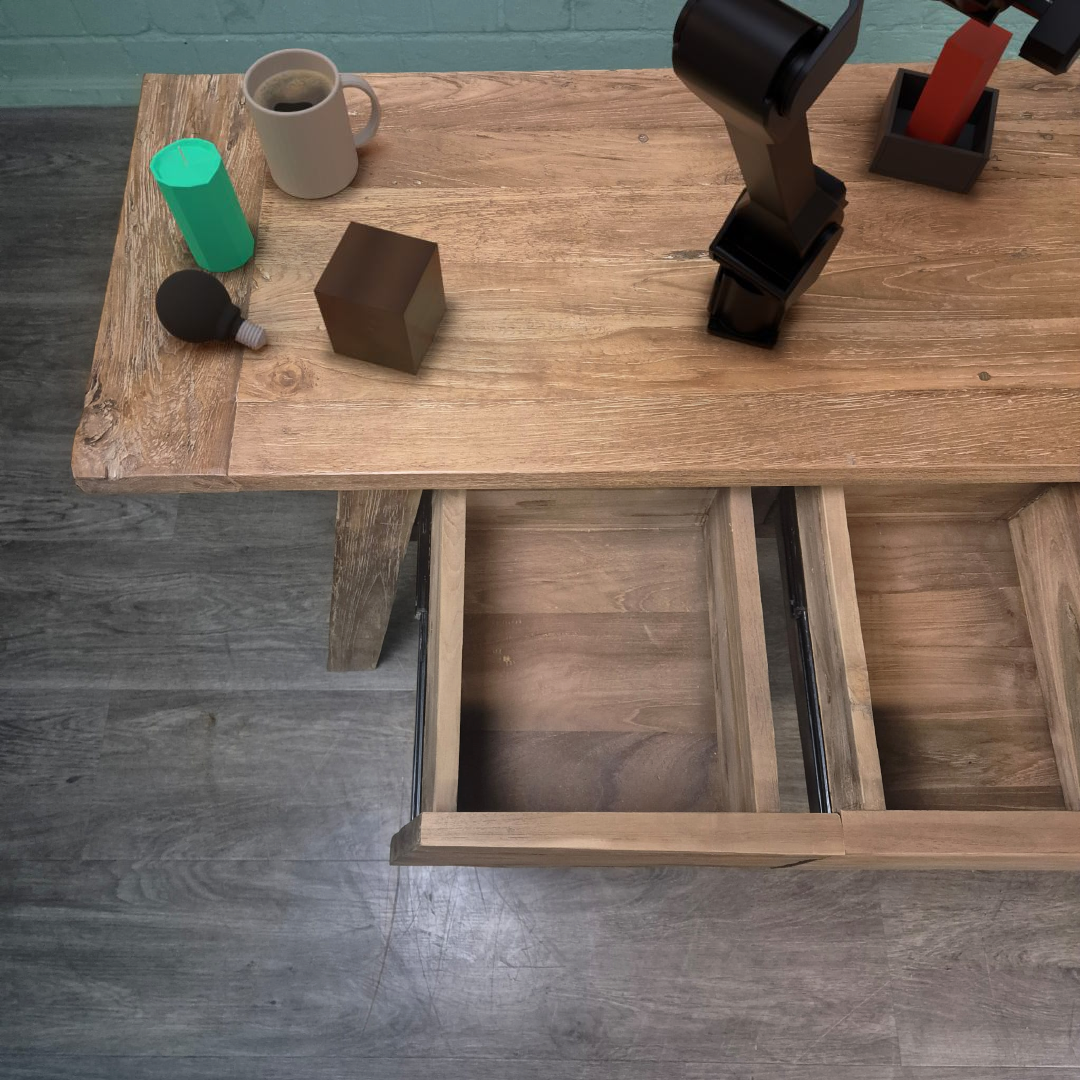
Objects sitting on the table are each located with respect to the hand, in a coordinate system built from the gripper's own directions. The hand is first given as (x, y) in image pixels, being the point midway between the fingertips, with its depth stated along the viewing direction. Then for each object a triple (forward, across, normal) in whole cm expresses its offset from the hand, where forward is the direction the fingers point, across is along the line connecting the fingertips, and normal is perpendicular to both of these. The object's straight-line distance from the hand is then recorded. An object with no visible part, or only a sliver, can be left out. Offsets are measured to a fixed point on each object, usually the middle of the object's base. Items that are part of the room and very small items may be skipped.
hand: (993, 18), depth 80 cm
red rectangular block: (+8, 0, +10) cm, 13 cm away
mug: (-23, +42, +43) cm, 65 cm away
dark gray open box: (+9, 0, +11) cm, 14 cm away
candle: (-33, +41, +52) cm, 75 cm away
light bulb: (-38, +34, +57) cm, 76 cm away
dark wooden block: (-30, +22, +49) cm, 62 cm away
